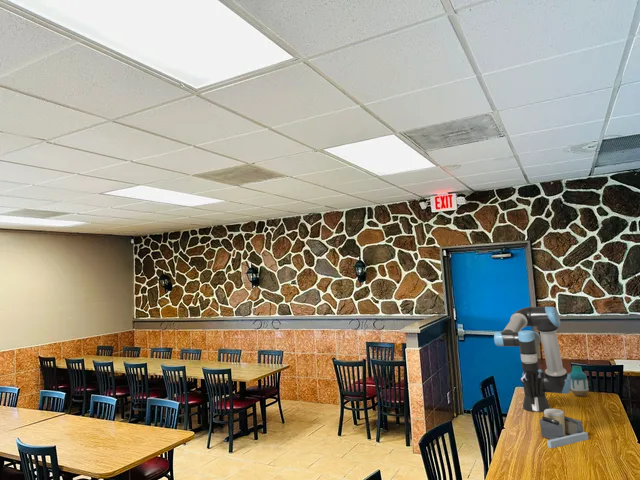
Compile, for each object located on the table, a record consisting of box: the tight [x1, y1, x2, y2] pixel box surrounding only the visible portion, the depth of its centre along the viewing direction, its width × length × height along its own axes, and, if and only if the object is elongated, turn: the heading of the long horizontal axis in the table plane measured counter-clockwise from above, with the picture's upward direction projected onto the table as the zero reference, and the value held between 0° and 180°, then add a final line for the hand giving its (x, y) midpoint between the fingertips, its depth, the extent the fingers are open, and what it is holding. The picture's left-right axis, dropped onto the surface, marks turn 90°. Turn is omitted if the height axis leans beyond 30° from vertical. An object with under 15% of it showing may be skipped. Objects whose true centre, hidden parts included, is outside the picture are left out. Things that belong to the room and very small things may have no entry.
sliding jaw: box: [539, 415, 564, 440], centre depth 216 cm, size 11×4×10 cm, turn 19°
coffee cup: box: [543, 408, 566, 436], centre depth 222 cm, size 9×9×12 cm
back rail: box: [546, 431, 589, 449], centre depth 210 cm, size 2×24×3 cm, turn 109°
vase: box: [569, 365, 590, 397], centre depth 291 cm, size 11×11×19 cm
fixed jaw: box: [564, 415, 584, 436], centre depth 220 cm, size 11×4×8 cm, turn 19°
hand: (535, 410), depth 215 cm, fingers closed
